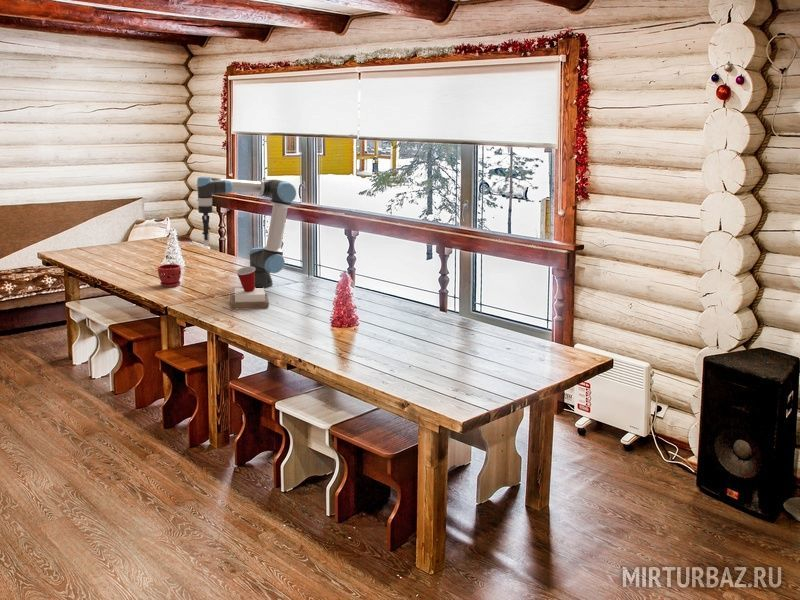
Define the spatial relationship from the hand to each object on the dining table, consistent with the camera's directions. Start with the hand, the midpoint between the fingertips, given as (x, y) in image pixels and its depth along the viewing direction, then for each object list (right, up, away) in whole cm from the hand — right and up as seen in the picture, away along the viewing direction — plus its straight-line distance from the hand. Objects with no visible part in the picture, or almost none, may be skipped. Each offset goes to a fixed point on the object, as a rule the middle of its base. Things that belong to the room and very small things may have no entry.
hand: (206, 243), depth 446 cm
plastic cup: (+24, -26, -4) cm, 36 cm away
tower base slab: (+24, -34, -2) cm, 42 cm away
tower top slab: (+24, -31, -3) cm, 39 cm away
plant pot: (-30, -23, +35) cm, 52 cm away
